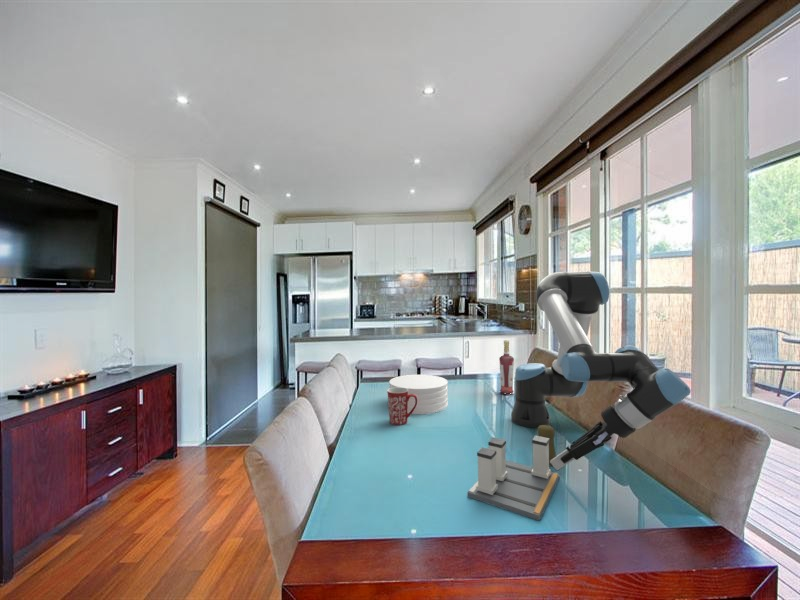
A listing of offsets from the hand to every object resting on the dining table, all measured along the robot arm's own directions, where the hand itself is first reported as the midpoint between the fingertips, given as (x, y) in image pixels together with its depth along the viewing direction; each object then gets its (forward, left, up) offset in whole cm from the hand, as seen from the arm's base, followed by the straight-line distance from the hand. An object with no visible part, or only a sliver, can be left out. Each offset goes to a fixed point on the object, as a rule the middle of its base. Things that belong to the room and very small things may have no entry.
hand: (554, 465), depth 99 cm
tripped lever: (+2, -2, -3) cm, 5 cm away
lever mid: (+15, -4, -3) cm, 16 cm away
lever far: (+21, +2, -3) cm, 21 cm away
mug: (+33, -55, -5) cm, 64 cm away
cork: (-5, -12, -5) cm, 14 cm away
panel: (+12, 0, -5) cm, 13 cm away
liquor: (-29, -85, -5) cm, 90 cm away
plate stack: (+20, -77, -5) cm, 80 cm away
